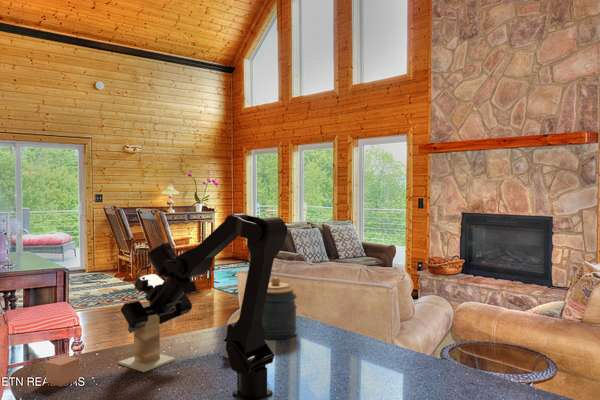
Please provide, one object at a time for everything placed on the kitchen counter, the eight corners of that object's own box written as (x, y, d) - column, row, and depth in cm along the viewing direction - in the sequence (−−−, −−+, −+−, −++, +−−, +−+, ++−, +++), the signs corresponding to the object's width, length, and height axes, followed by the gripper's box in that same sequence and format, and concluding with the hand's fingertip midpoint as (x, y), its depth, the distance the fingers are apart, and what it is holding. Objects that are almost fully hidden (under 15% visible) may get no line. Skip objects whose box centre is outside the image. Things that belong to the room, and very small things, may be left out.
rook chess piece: (236, 359, 130) (236, 329, 130) (220, 358, 131) (220, 328, 131) (241, 353, 134) (241, 324, 134) (226, 352, 135) (226, 323, 135)
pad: (175, 360, 129) (175, 358, 129) (143, 372, 121) (143, 369, 121) (150, 353, 135) (150, 350, 135) (118, 363, 127) (118, 361, 127)
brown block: (160, 358, 129) (159, 305, 128) (145, 364, 125) (144, 309, 124) (148, 355, 131) (147, 303, 131) (133, 360, 127) (132, 306, 127)
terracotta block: (79, 379, 117) (78, 358, 117) (61, 386, 113) (60, 365, 112) (64, 375, 119) (63, 355, 119) (45, 383, 115) (45, 362, 114)
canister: (279, 325, 162) (279, 272, 161) (305, 334, 152) (305, 277, 151) (246, 333, 153) (246, 276, 153) (271, 343, 143) (271, 283, 143)
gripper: (184, 260, 133) (157, 296, 139) (125, 270, 118) (98, 310, 124) (205, 293, 129) (176, 328, 135) (146, 307, 113) (117, 346, 120)
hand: (143, 327), depth 129 cm, fingers open, 8 cm apart
